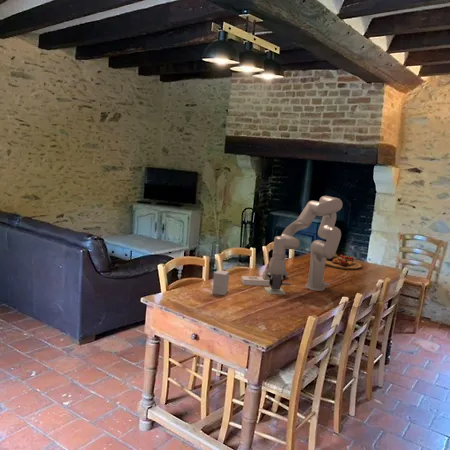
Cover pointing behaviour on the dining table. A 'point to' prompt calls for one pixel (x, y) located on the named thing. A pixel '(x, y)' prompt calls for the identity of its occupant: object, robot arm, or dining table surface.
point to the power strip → (256, 281)
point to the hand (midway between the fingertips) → (275, 284)
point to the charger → (276, 282)
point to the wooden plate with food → (342, 262)
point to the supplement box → (220, 282)
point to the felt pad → (274, 291)
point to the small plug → (266, 276)
